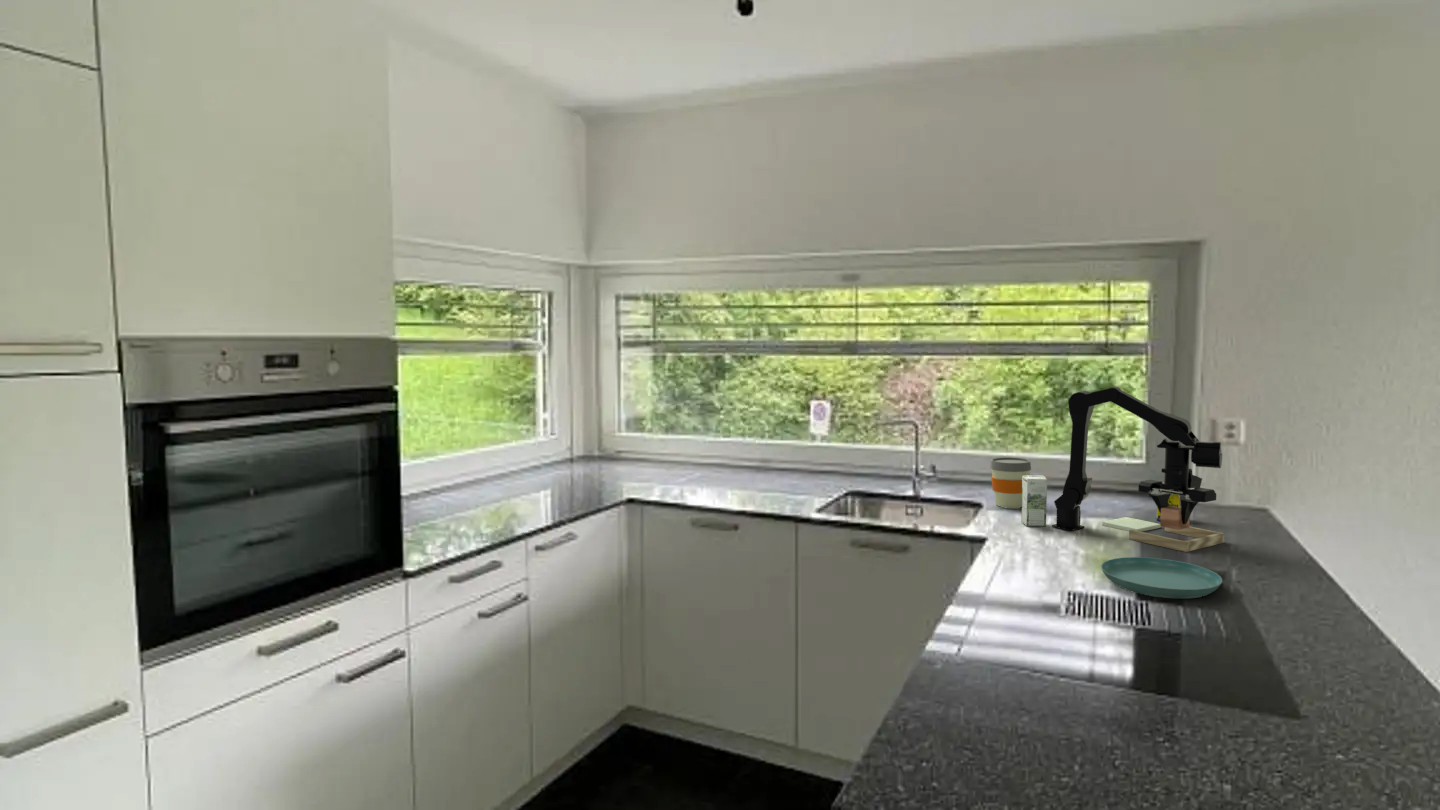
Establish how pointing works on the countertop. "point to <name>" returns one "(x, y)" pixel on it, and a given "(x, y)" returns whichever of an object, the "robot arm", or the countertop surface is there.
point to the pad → (1131, 524)
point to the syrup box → (1034, 500)
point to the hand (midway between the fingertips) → (1174, 522)
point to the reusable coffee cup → (1009, 480)
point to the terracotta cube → (1173, 518)
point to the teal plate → (1161, 577)
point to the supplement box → (1170, 503)
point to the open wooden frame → (1201, 541)
